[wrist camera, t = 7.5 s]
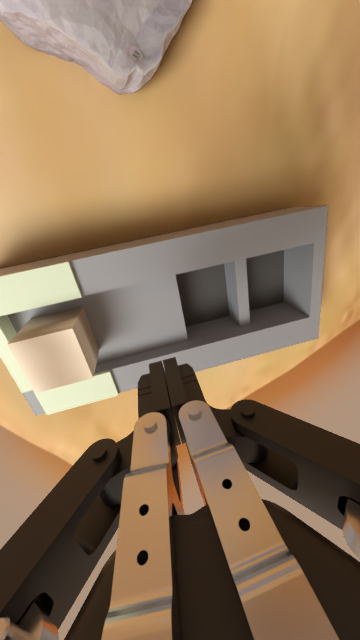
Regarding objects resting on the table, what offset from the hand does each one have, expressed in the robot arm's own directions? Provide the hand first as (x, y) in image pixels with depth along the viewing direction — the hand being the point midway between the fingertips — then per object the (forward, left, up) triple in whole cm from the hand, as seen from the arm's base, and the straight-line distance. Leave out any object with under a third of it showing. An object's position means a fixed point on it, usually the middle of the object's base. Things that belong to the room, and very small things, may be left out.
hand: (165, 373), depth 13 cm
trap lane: (-2, 0, -11) cm, 11 cm away
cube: (+7, 0, -8) cm, 11 cm away
